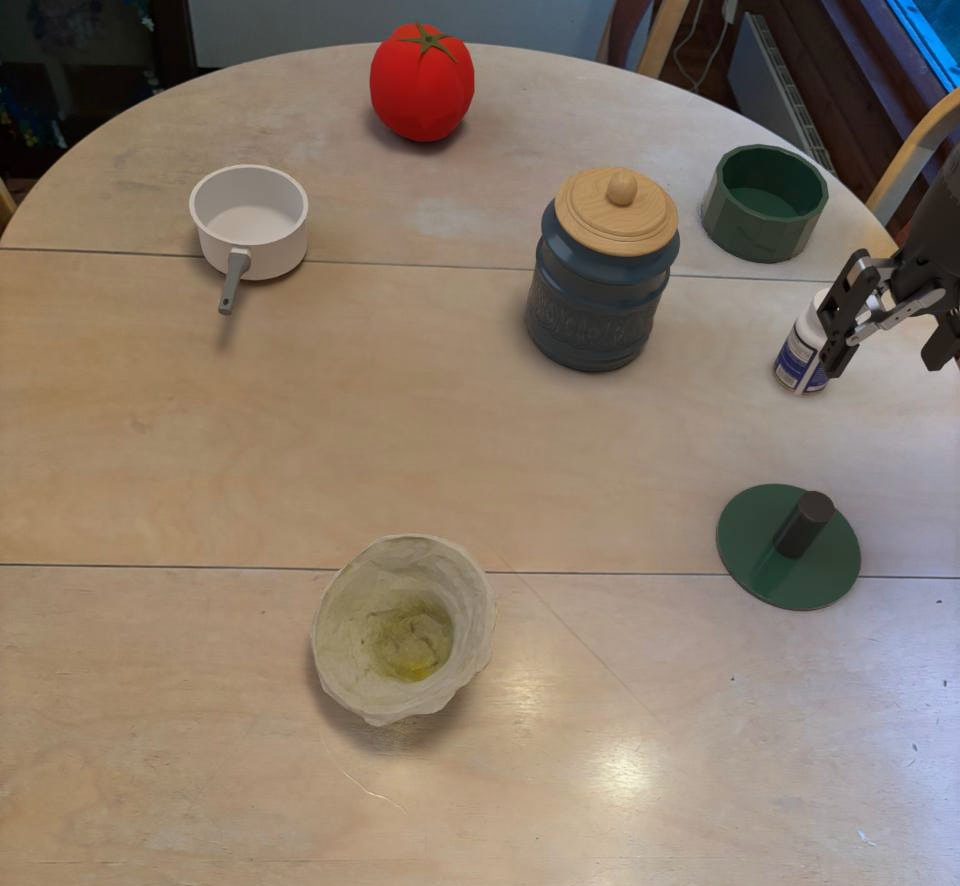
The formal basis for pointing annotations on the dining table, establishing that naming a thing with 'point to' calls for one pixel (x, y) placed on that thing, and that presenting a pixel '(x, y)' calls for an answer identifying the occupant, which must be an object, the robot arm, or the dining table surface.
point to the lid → (788, 546)
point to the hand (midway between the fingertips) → (879, 366)
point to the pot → (763, 203)
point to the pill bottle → (803, 354)
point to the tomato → (421, 82)
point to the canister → (601, 267)
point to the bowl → (403, 627)
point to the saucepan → (250, 224)
